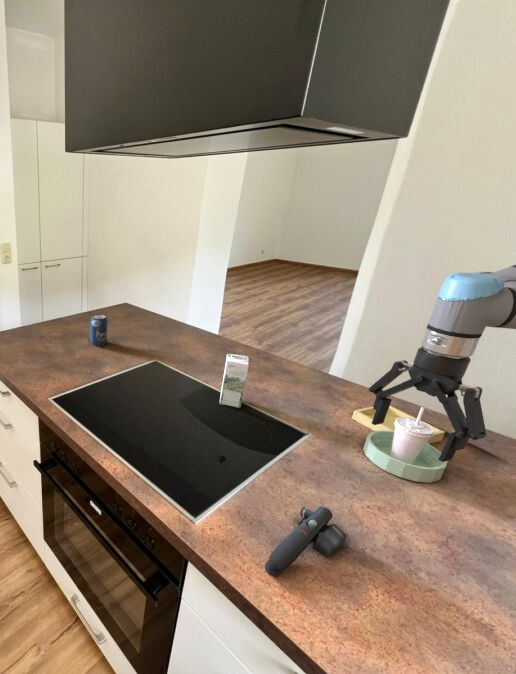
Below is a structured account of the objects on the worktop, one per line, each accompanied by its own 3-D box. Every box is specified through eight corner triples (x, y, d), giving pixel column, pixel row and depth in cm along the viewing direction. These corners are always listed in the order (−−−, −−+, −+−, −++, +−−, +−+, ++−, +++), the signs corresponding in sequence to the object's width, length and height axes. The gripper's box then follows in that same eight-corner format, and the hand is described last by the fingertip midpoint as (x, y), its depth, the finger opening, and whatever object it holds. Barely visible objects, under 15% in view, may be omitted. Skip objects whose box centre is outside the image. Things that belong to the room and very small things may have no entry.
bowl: (455, 476, 77) (463, 461, 76) (411, 490, 74) (418, 474, 73) (389, 439, 89) (394, 426, 88) (349, 450, 86) (353, 436, 84)
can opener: (308, 516, 68) (315, 493, 66) (349, 545, 63) (358, 521, 61) (246, 558, 61) (252, 534, 59) (287, 595, 55) (295, 570, 53)
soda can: (98, 348, 146) (99, 320, 142) (86, 343, 151) (86, 316, 147) (110, 343, 150) (110, 316, 146) (97, 339, 155) (98, 312, 151)
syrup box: (240, 399, 108) (248, 355, 103) (240, 409, 103) (249, 363, 98) (220, 395, 110) (227, 352, 105) (219, 405, 105) (226, 360, 100)
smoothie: (426, 466, 80) (449, 412, 75) (408, 474, 78) (431, 419, 72) (392, 448, 85) (412, 397, 80) (375, 455, 83) (394, 403, 78)
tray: (441, 440, 89) (445, 431, 88) (407, 449, 86) (411, 440, 85) (382, 411, 101) (385, 403, 100) (351, 418, 98) (354, 410, 97)
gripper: (367, 333, 82) (342, 413, 90) (519, 382, 60) (468, 483, 67) (391, 329, 84) (364, 408, 91) (547, 376, 61) (494, 475, 69)
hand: (408, 440), depth 79 cm, fingers open, 12 cm apart
